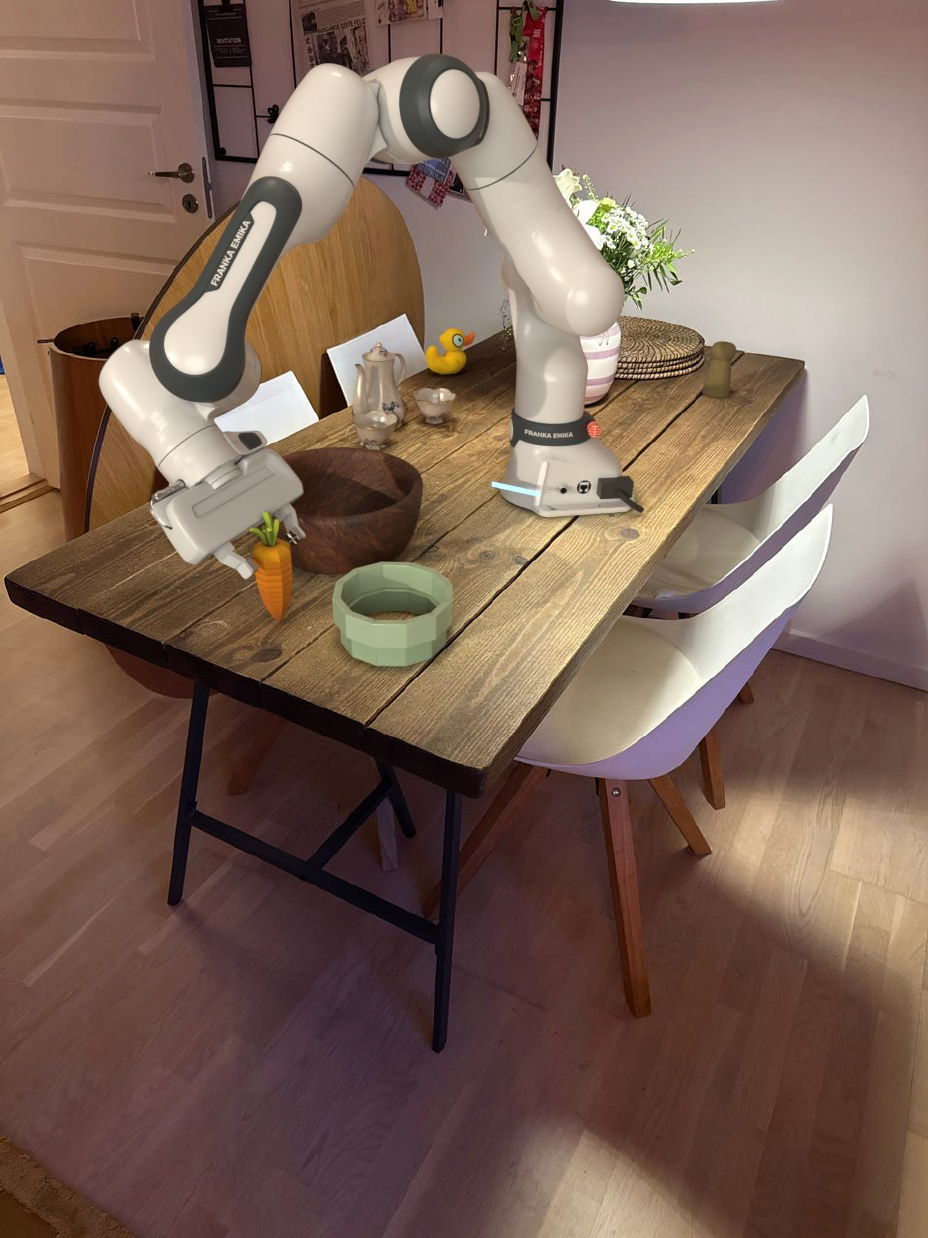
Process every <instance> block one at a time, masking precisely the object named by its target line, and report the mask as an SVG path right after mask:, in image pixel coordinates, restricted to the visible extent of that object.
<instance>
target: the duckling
mask: <svg viewBox="0 0 928 1238" xmlns="http://www.w3.org/2000/svg"><path fill="white" fill-rule="evenodd" d="M475 337H476V335H475V332H474V331H471V332H470V333H469V334H468V335H466V334H465V332H464V331H463V330H462V329H460V328H458V327H450V328H448V329H446V330H444V332H442V334H440V336H439V342H440V344H441V346H442V347H443V349H444V350H445V351H446V352H445V353H443V354H440V353H439V350H438V348H437V346H436V345H430V346H429V347H427V349H426V352H425V362H426V365H427V367H428V369H430V371H432V372H434V373H436V374H439V375H455V374H458V373H459V372H460V371H461V370H462V369H463V368H464V367H465V365H466V363H467V355H466V353H465V352H464V351H463V348H464V347H468V346H470V345H471V344H473V342H474V340H475Z"/></svg>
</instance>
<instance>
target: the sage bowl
mask: <svg viewBox="0 0 928 1238" xmlns="http://www.w3.org/2000/svg"><path fill="white" fill-rule="evenodd" d="M453 587H454V584H453V583H452V582H451V581H450V580H449V579H448V578H446V576H444V575H443V574H442V573H441V572H440V571H439V570H438V569H434V568H432V567H429V566H425V565H422V564H419V563H415V562H412V561H389V562H378V563H374V564H370V565H366V566H363V567H359V568H355V569H353V570H352V571H350V572H349V573H348V574H344V575H343V576H342V577H340V578H339V579H338V580H337V581H335V583H334V587H333V593H332V598H331V601H332V604H331V605H332V618H333V619H332V620H333V621H332V622H333V624H335V626H336V627H337V629H339V636H340V637H339V638H340V643H341V644H342V646H343V647H344V648H345V650H346V651H347V652H348V653H349V654H350V656H351V657H352V658H354V659H356V660H359V661H361V662H365V663H367V664H369V665H373V666H375V667H410V666H413V665H415V664H418V663H421V662H425V661H428V660H431V659H432V658H434V657H435V656H436V654H437V653H439V652H440V651H441V650H442V649H443V648H444V647H445V646H446V645H447V629H449V628H450V627H451V626H452V624H453V613H454V612H453V607H454V605H453V604H454V588H453ZM383 612H409V613H412V614H414V615H417V616H415V617H412V618H408V619H404V620H403V619H376V618H372V617H370V616H373V615H376V614H379V613H383Z"/></svg>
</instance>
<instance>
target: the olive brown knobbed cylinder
mask: <svg viewBox="0 0 928 1238" xmlns="http://www.w3.org/2000/svg"><path fill="white" fill-rule="evenodd" d="M736 354H737V346H736V345H735V344H734V343H733V342H730V341H721V340H720V341H716V342H714V343H713V344H712V346H711V348H710V355H711V357H712V358H711V361H710V364H709V367H708V370H707V373H706V377H705V379H704V383H703V386H702V389H701V393H702V395H705V396H707V397H711V398H727V397H729V396H730V391H731V376H732V375H731V374H732V362H733V361H732V360H733V359H734V358H735V356H736Z"/></svg>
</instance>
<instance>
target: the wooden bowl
mask: <svg viewBox="0 0 928 1238" xmlns="http://www.w3.org/2000/svg"><path fill="white" fill-rule="evenodd" d="M280 456H281V455H280ZM281 457H282V458H283V459H284V460H285V462H286V463H287V464H288V465H289V466H290V467H291V469H292V470H293V471H294V472H295V474H296V475H297V476H298V478H299V479H300V481H301V482H302V485H303V491H304V493H303V494H302V496H300V497H299V498H298V499H297V500H296V501H295V502H294V503H293V504H291V506H292V507H293V508H294V509H295V511H296V516H297V520H298V526H299V527H300V528H301V529H302V531H303V532H304V533H305V535H306V536H305V538H304V539H303V540H302V541H300V542H299V543H298V544H296V545H295V546H292V545H291V544H290V543H289V541H288V540H287V539H286V538H285V537H284V536H285V535H286V534H287V530H286V527H285V524H284V521H281V522H280V523H279V531H278V535H277V538H278V539H281V540H284V541H286V542H288V543H289V545H290V548H291V561H292V568H294V569H296V570H300V571H303V572H306V573H307V572H308V573H312V574H313V573H314V574H317V575H333V576H334V575H335V576H337V575H338V576H339V575H346V574H348V573H349V572H350V571H352V570H353V569H355V568H359V567H363V566H366V565H370V564H374V563H378V562H392V561H393V560H394V559H396V558H397V557H398V556H400V554H401V553H402V552H403V551H404V550H405V549H406V547H407V546H408V545H409V544H410V541H411V539H412V537H413V536H414V533H415V531H416V528H417V526H418V521H419V519H420V513H421V507H422V501H423V494H424V481H423V477H422V475H421V473H420V471H419V470H418V469H417V468H416V467H415V466H414V465H413V464H411V463H410V462H409V461H407V460H405V459H403V458H401V457H400V456H396V455H393V454H391V453H388V452H384V451H381V450H372V449H368V448H363V447H353V446H351V447H350V446H329V447H317V448H311V449H304V450H299V451H295V452H294V451H293V452H291V453H287V454H285V455H282V456H281ZM275 519H277V518H276V516H275V515H274V516H273V517H272V520H273V523H274V521H275ZM262 526H266V523H265V522H263V523H262V524H260V525H259V526H257V527H256V529H259V530H260V531H261V532H262V531H263V530H262Z"/></svg>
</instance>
